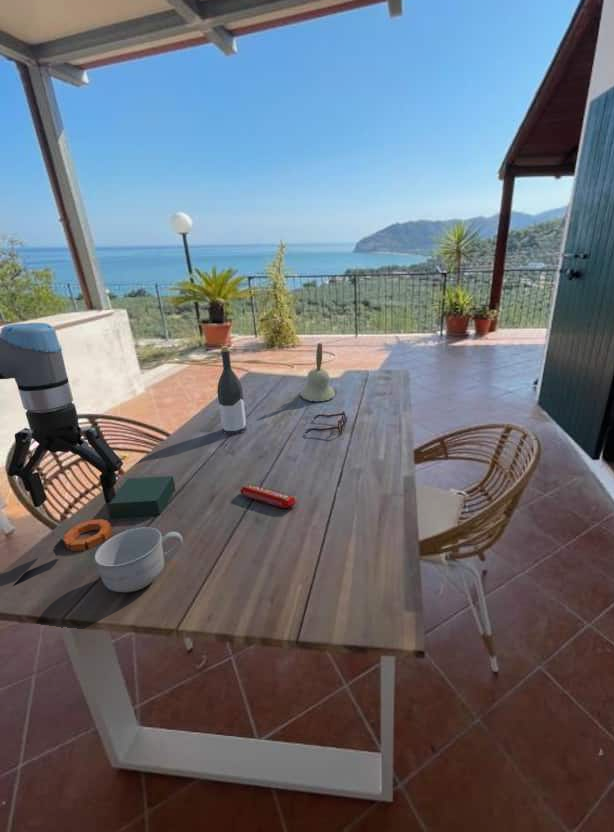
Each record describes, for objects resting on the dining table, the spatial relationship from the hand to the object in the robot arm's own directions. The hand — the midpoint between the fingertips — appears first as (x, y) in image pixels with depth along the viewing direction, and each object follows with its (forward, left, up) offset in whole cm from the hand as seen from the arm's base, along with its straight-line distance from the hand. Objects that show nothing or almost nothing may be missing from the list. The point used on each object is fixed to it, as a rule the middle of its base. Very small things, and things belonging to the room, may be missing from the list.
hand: (76, 501), depth 81 cm
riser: (+7, +12, -9) cm, 17 cm away
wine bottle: (+21, +54, -9) cm, 59 cm away
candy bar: (+38, +9, -9) cm, 40 cm away
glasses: (+53, +52, -9) cm, 75 cm away
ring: (0, 0, -9) cm, 9 cm away
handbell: (+51, +86, -9) cm, 101 cm away
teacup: (+17, -13, -9) cm, 24 cm away
